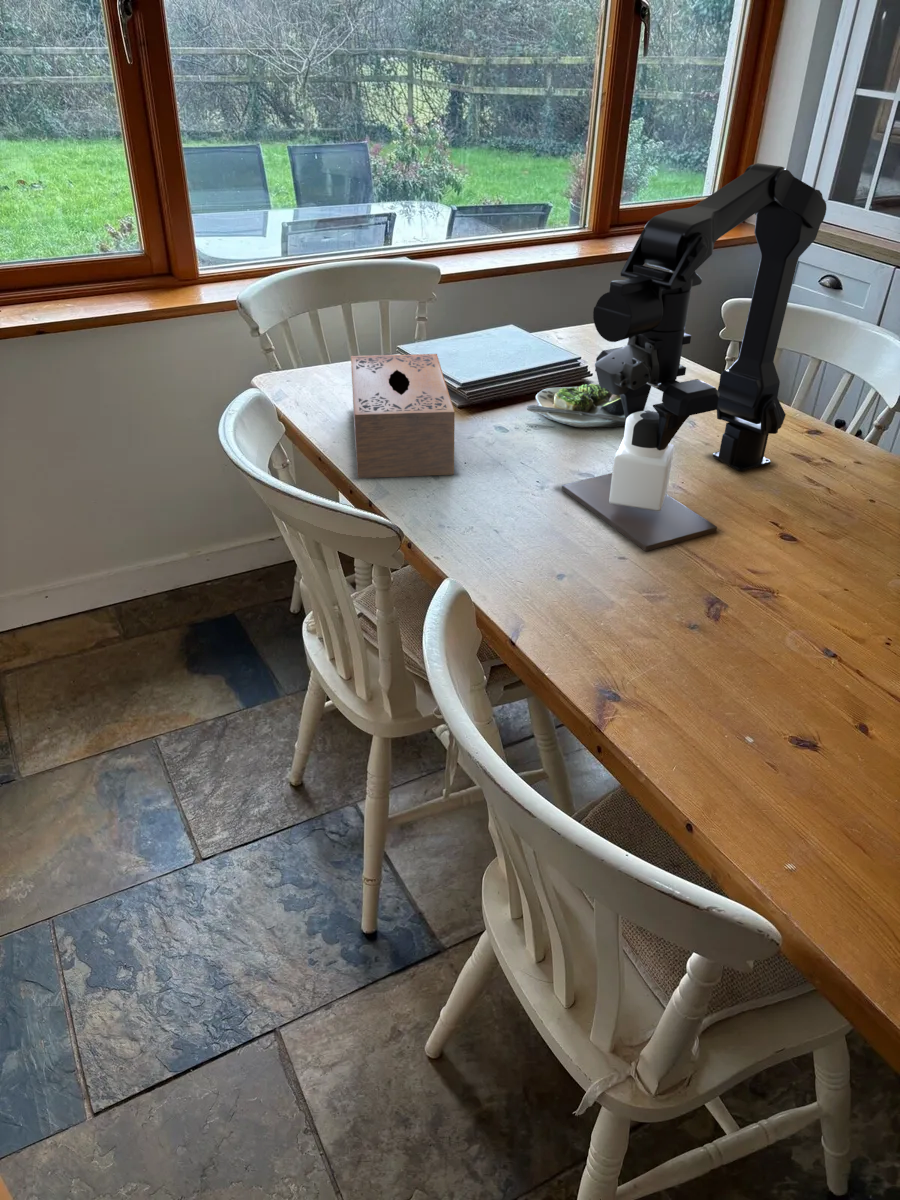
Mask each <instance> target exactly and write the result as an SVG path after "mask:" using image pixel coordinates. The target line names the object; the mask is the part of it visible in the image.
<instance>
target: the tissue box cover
mask: <svg viewBox="0 0 900 1200" xmlns="http://www.w3.org/2000/svg"><path fill="white" fill-rule="evenodd" d="M350 366H351V367H350V369H351V388H352V389H351V390H352V391H351V392H352V407H353V409H352V411H353V425H354V426H353V427H354V440H355V442H354V443H355V456H356V472H357V473H356V474H357V479H371V478H373V479H375V478H397V477H398V478H400V477H421V476H422V477H424V476H426V477H428V476H449V475H452V476H453V475H454V472H455V470H454V469H455V463H454V462H455V421H456V420H455V418H456V417H455V415H456V413H455V411H456V410H455V408H454V405H453V401H452V399H451V395H450V392H449V389H448V385H447V382H446V379H445V376H444V373H443V369H442V367H441V363H440V359H439V356H438V353H418V354H417V353H415V354H414V353H413V354H371V355H350Z"/></svg>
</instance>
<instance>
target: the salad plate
mask: <svg viewBox="0 0 900 1200" xmlns="http://www.w3.org/2000/svg"><path fill="white" fill-rule="evenodd" d="M535 401H536V404H537V405H535V404H529V405H527V407H526V410H527V411H529V412H531V413H535V414H539V415H541V416H544V417H545V418H546V419H548V420H550V421H553V422H556V423H558V424H562V425H566V426H570V427H575V428H614V427H615V428H616V427H625V424H626V419H625V414H624V410H623V405H622V401H621V397H620V395H614V394H612V393H611V391H609V390H607V389H605V388H601V387H600V386H599V383H596V384H595V383H589V385H588V384H586V383H585V384H582V385H579V386H562V387H561V386H560V387H559V386H558V387H547V388H545V389H542V390H540V391H539V392H537V394H536V395H535Z"/></svg>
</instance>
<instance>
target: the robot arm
mask: <svg viewBox="0 0 900 1200" xmlns="http://www.w3.org/2000/svg"><path fill="white" fill-rule="evenodd" d="M826 213H827V203H826V199H824V197H823V193H822V192H821V190H819V189H816V188H814V187H813V186H811V185H809V184H807V183H806V182H804V181H802V180H801V179H798V178H797V177H796V176H795V175H794V174H792V172H791V171H790V170H788V169H786V167H784V166H781V165H773V164H766V163H760V162H757V163H754V164H751V165H749V166H747V167H746V169H745V171H744V172H743V173H742V174H740V175H739V176H738V177H736V178H735V179H733V180H732V181H730V182H729V183H727V184H725V185H724V186H722V187H720V188H719V189H718V190H716V191H715V192H712V193H711V194H710V195H708V196H707V197H706V198H704V199H702V200H700V202H698V203H697V204H695V205H692V206H690V207H684V208H677V209H671V210H670V209H669V210H667V211H664V212H662V213H659V214H657V215H654V216H652V218H650V219H649V220H648V221H647V222H646V224H645V225H644V228H643V230H642V231H641V232H640V235H639V237H638V239H637V240H636V243H635V244H634V247H633V248H632V250H631V252H630V254H629V256H628V258H627V259H626V262H625V263H624V265H623V267H622V270H621V271H620V277H622V278H626V279H616V280H615V279H614V280H611V281H610V283H609V288H608V289H609V291H608V292H605V293H603V294H602V295H601V296H600V297H599V298H598V300H597V301H596V303H595V306H594V307H593V311H592V316H593V317H592V318H593V325H594V327H595V329H596V331H597V333H598V335H599V336H600V337H601V338H602V339H603V340H605V341H606V342H610V343H617V342H620V341H624V340H627V344H626V345H625V346H621V347H614V348H608V349H604V350H601V352H599V354H598V355H597V356H596V358H595V362H594V369H595V370H594V371H595V372H596V376H597V377H596V378H597V381H598V384H599V386H600V387H601V388H605V389H607V390H609V391H611V393H612V394H614V395H620V397H621V401H622V405H623V410H624V414H625V419H626V418H627V417H628V416H629V415H630V414H632V413H635V412H640V411H645V408H646V405H647V402H648V398H649V395H650V392H651V390H652V388H654V389H656V390H659V391H660V392H661V393H662V396H661V402H660V403H656V404H652V407H653V409H654V410H655V412H658V414H659V423H658V434H657V449H658V450H659V451H660V450H664V449H665V448H666V447H667V446H668V444H671V443H670V442H671V441H672V440H673V439H674V437H676V434H677V433H678V431H679V430H680V429H681V427H682V426H683V425H684V423H685V422H686V421H687V420H688V419H689V417H690V416H695V415H700V414H705V413H708V412H709V413H710V412H712V411H716V419H717V420H720V421H721V420H722V421H724V422H726V423H725V427H724V432H723V434H722V437H721V441H720V446H719V451H715V452H713V453H712V457H713V458H715V459H716V460H718V461H720V462H722V463H723V464H725V465H727V466H728V467H730V468H732V469H734V470H735V471H738V472H745V471H749V470H753V469H757V468H760V467H761V468H762V467H765V466H768V465H771V462H772V461H771V460H770V459H769V458H766V457H765V453H766V449H767V443H768V440H769V435H776V434H778V432H779V430H780V429H781V428H782V426H783V424H784V421H785V418H786V416H787V415H786V412H785V411H784V409H783V406H782V404H781V402H780V400H779V398H778V397H779V391H780V385H781V381H780V378H779V374H778V371H777V368H776V365H775V363H774V362H775V357H776V353H777V348H778V344H779V339H780V336H781V332H782V328H783V324H784V320H785V315H786V311H787V307H788V304H789V298H790V295H791V291H792V287H793V282H794V278H795V274H796V270H797V266H798V263H799V259H800V258H801V256H802V255H803V254H804V253H805V252H806V250H807V249H808V248H809V247H810V246H811V245H812V244H813V243H814V242H815V240H816V239H817V236H818V233H819V230H820V227H821V225H822V223H823V221H824V220H825V217H826ZM753 215H755V224H754V236H755V239H756V243H757V245H758V248H759V252H760V260H759V263H758V264H759V265H758V269H757V273H756V278H755V281H754V287H753V292H752V296H751V300H750V304H749V310H748V312H747V313H748V314H747V318H746V323H745V328H744V331H743V336H742V341H741V345H740V350H739V354H738V356H737V357H738V358H737V359H736V360H735V361H734V362H733V363H732V365H730V367H728V369H723V370H722V372H721V373H720V375H719V382H718V386H717V387H718V388H716V386H713V385H711V384H709V383H708V382H707V383H706V382H704V381H703V380H700V379H698V378H695V379H691V380H685V381H678V380H677V378H678V377H682V376H685V375H686V372H687V367H686V366H684V365H683V364H681V357H682V352H683V346H684V345H689V344H691V342H692V341H691V339H692V334H688V333H686V326H687V321H688V320H687V319H688V315H689V314H688V313H689V308H690V307H689V306H690V301H691V293H692V287H696V286H700V285H701V284H702V283H703V279H702V278H701V276H700V275H699V274H698V273H697V272H696V271H697V270H698V269H699V268H700V267H701V266H702V265H703V264H704V263H705V262H706V261H708V260H709V258H710V257H711V256H712V255H713V252H714V246H715V243H716V242H717V241H718V240H719V239H720V238H722V237H723V236H725V235H726V234H727V233H729V232H730V231H732V230H733V229H735V228H736V227H737V226H739V225H740V224H743V222H745V221H746V220H748V219H750V217H752V216H753ZM645 264H646V265H647V266H646V265H645ZM658 268H659V269H658ZM662 269H664V270H662ZM666 270H667V271H666Z"/></svg>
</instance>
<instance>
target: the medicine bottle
mask: <svg viewBox="0 0 900 1200" xmlns="http://www.w3.org/2000/svg"><path fill="white" fill-rule="evenodd" d="M658 423H659V414H658V412H657V411H652V410H644V411H640V412H635V413H632V414H630V415H629V416H628V417H627V418H626V424H625V425H624V433H623V438H622V440H621V442H620V445H619V447H618V448H617V451H616V453H615V455H614V458H613V465H612V472H611V473H612V481H611V489H610V497H609V502H610V503H611V504H617V505H623V506H629V507H635V508H641V509H648V510H654V511H660V510H661V508H662V505H663V502H664V499H665V495H666V494H667V493H668V489H669V483H670V477H671V471H672V470H671V469H672V465H673V459H674V458H673V457H674V452H675V444H673V443H669V444H668V446H667V447H666V448H665V449H664V450H660V451H659V450H658V449H657V434H658Z"/></svg>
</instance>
